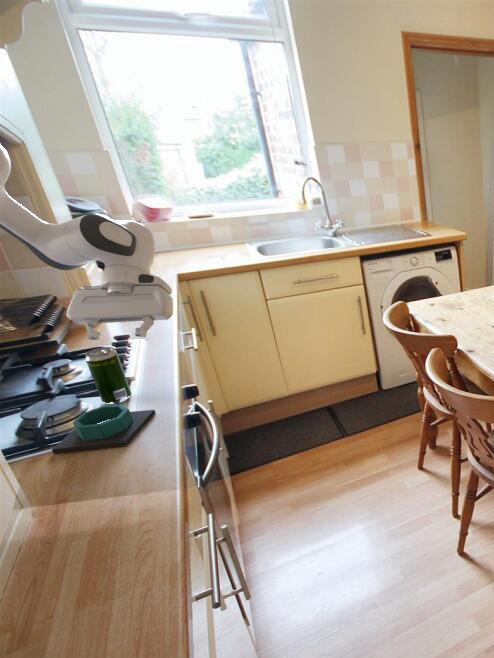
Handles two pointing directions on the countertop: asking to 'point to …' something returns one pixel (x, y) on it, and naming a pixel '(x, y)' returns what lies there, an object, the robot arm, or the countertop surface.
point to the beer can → (108, 374)
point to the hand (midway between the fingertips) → (116, 337)
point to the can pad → (107, 442)
